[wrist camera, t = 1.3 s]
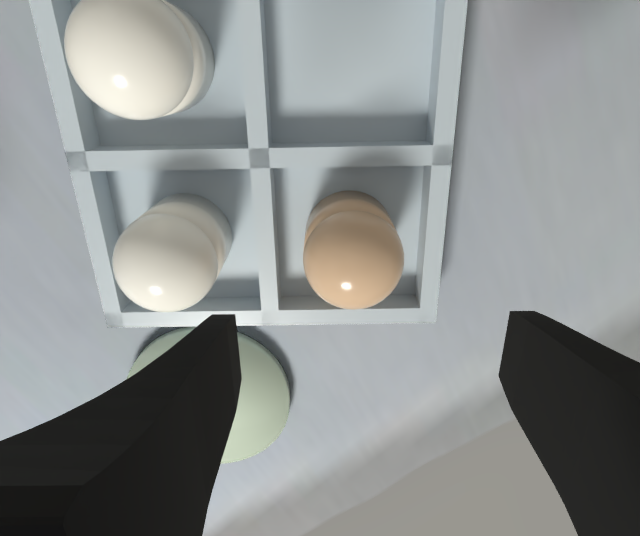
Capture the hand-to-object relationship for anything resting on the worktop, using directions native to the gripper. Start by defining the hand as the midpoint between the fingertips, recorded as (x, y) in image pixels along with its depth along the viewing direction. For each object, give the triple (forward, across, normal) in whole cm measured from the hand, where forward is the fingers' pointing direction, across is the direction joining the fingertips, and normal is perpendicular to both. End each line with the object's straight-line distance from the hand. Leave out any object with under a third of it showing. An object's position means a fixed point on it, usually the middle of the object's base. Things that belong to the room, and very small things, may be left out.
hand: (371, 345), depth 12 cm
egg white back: (+10, +8, 0) cm, 12 cm away
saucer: (+10, +8, +10) cm, 16 cm away
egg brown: (+10, 0, 0) cm, 10 cm away
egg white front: (+10, +8, -7) cm, 14 cm away
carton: (+10, +4, -4) cm, 12 cm away
